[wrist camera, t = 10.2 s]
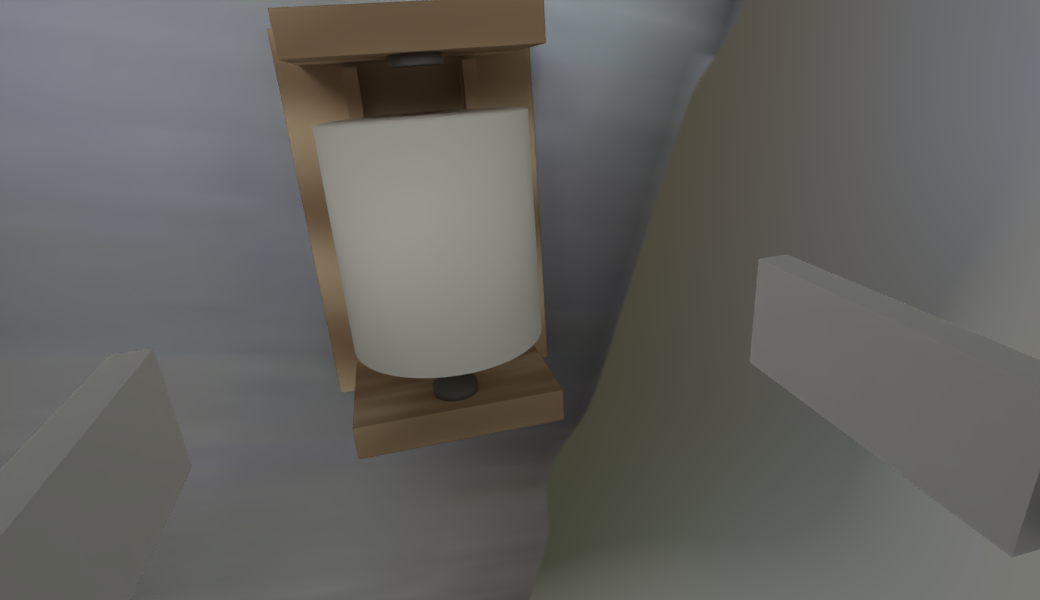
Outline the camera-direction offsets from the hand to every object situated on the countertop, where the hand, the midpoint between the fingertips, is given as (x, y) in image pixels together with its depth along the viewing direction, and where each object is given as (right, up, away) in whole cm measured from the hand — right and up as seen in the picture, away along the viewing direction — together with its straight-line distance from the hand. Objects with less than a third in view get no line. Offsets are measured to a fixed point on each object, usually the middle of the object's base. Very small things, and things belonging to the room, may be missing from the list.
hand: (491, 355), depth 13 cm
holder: (-4, +5, +16) cm, 17 cm away
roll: (-4, +5, +14) cm, 16 cm away
